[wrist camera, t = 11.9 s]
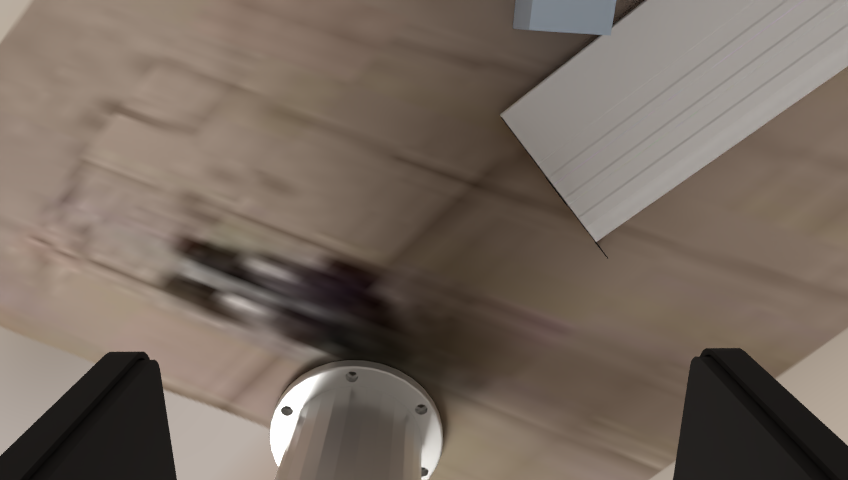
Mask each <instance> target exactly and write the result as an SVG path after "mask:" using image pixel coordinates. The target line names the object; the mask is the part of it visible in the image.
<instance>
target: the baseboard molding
mask: <svg viewBox="0 0 848 480" xmlns="http://www.w3.org/2000/svg"><path fill="white" fill-rule="evenodd" d="M847 66H848V0H644V1H643V2H642V3H641V4H639V5H638V6H637V7H636V8H634V9H633V10H632V11H631V12H629V13H628V14H627V15H625V16H624V17H623V18H622V19H620V20H619V21H618V22H617V23H615V24H614V25H613V26H612V30H611V36H610V35H600V36H599V37H598V38H596V39H595V40H594V41H592V42H591V43H590V44H589V45H587V46H586V47H585V48H584V49H582V50H581V51H580V52H579V53H577V54H576V55H575V56H573V57H572V58H571V59H570V60H568V61H567V62H566V63H565V64H563V65H562V66H561V67H559V68H558V69H557V70H556V71H554V72H553V73H552V74H551V75H549V76H548V77H547V78H546V79H544V80H543V81H542V82H540V83H539V84H538V85H537V86H535V87H534V88H533V89H532V90H530V91H529V92H528V93H526V94H525V95H524V96H523V97H521V98H520V99H519V100H518V101H516V102H515V103H514V104H513V105H511V106H510V107H509V108H507V109H506V110H505V111H504V112H502V113H501V114H500V116H501V118H502V119H503V121H504V122H505V123H506V125H507V126H508V127H509V129H510V130H511V131H512V132H513V134H514V135H515V136H516V138H517V139H518V140H519V142H520V143H521V144H522V146H523V147H524V148H525V150H526V151H527V152H528V154H529V155H530V156H531V158H532V159H533V160H534V162H535V163H536V164H537V166H538V167H539V168H540V170H541V171H542V172H543V174H544V175H545V176H546V179H547V180H548V181H550V182H549V183H550V184H551V185H552V187H553V188H554V189H555V191H556V192H557V193H558V195H559V196H560V197H561V199H562V200H563V201H564V203H565V204H566V205H568V207H569V208H570V209H571V211H572V212H573V213H574V215H575V216H576V217H577V219H578V220H579V221H580V223H581V224H582V225H583V227H584V228H585V229H586V230H587V232H588V233H589V234H590V236H591V237H592V238H593V240H594V241H595V243H596V242H597V241H598V240H600V239H601V238H603V237H604V236H605V235H607V234H608V233H610V232H611V231H613V230H614V229H615V228H617V227H618V226H620V225H621V224H623V223H624V222H626V221H627V220H628V219H630V218H631V217H633V216H634V215H636V214H637V213H638V212H640V211H641V210H643V209H644V208H646V207H647V206H648V205H650V204H651V203H653V202H654V201H656V200H657V199H658V198H660V197H661V196H663V195H664V194H666V193H667V192H668V191H670V190H671V189H673V188H674V187H676V186H677V185H678V184H680V183H681V182H683V181H684V180H686V179H687V178H688V177H690V176H691V175H693V174H694V173H696V172H697V171H698V170H700V169H701V168H703V167H704V166H706V165H707V164H708V163H710V162H711V161H713V160H714V159H716V158H717V157H718V156H720V155H721V154H723V153H724V152H726V151H727V150H728V149H730V148H731V147H733V146H734V145H736V144H737V143H738V142H740V141H741V140H743V139H744V138H746V137H747V136H748V135H750V134H751V133H753V132H754V131H756V130H757V129H758V128H760V127H761V126H763V125H764V124H766V123H767V122H768V121H770V120H771V119H773V118H774V117H776V116H777V115H778V114H780V113H781V112H783V111H784V110H786V109H787V108H788V107H790V106H791V105H793V104H794V103H796V102H797V101H798V100H800V99H801V98H803V97H804V96H806V95H807V94H808V93H810V92H811V91H813V90H814V89H816V88H817V87H818V86H820V85H821V84H823V83H824V82H826V81H827V80H828V79H830V78H831V77H833V76H834V75H836V74H837V73H838V72H840V71H841V70H843V69H844V68H846V67H847ZM596 244H597V243H596ZM597 245H598V244H597ZM598 247H599V248H600V246H599V245H598ZM600 249H601V248H600ZM601 251H602V249H601ZM602 252H603V251H602ZM603 253H604V252H603ZM604 254H605V253H604ZM605 256H606V255H605ZM606 257H607V256H606ZM607 258H608V257H607Z"/></svg>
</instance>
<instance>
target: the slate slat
mask: <svg viewBox="0 0 848 480" xmlns="http://www.w3.org/2000/svg"><path fill="white" fill-rule="evenodd" d="M615 5H616V0H516V2H515V11H514V20H513V29H522V30H535V31H550V32H565V33H580V34H595V35H610V36H611V30H612V24H613V18H614V12H615Z"/></svg>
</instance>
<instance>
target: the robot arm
mask: <svg viewBox="0 0 848 480" xmlns="http://www.w3.org/2000/svg"><path fill="white" fill-rule="evenodd" d="M351 371H352V372H351ZM269 438H270V446H271V450H272V453H273V456H274V459H275V461H276V463H277V464H278V467H279V468H278V471H277V474H276V477H275V480H428V479H429V478H430V477H431V475H432V474H433V472H434V470H435V469H436V467H437V465H438V462H439V459H440V457H441V454H442V445H443V430H442V423H441V419H440V414H439V412H438V410H437V408H436V406H435V403H434V401H433V400H432V398H431V397H430V396H429V395H428V393H427V392H426V391H425V389H424V388H423V387H422V386H420V385H419V384H418V383H417V382H416V381H415V380H414V379H412V378H411V377H409V376H407V375H406V374H404V373H402V372H401V371H399V370H397V369H394V368H392V367H389V366H386V365H384V364H380V363H375V362H370V361H362V360H345V361H338V362H331V363H328V364H325V365H322V366H319V367H316V368H314V369H312V370H310V371H308V372H306V373H305V374H303V375H301V376H300V377H299V378H298V379H296V380H295V381H294V382H293V383H291V384H290V385H289V387H288V388H287V389H286V390H285V392H284V393H283V394H282V395H281V397H280V399H279V401H278V403H277V405H276V408H275V410H274V413H273V416H272V419H271V422H270V433H269ZM0 480H177V479H176V471H175V465H174V458H173V452H172V445H171V439H170V433H169V426H168V419H167V413H166V406H165V400H164V393H163V387H162V380H161V373H160V368H159V364H158V363H157V361H156V360H150V359H149V357H148V355H147V354H146V353H145V352H109V353H107V354H106V355H105V356H103V357H102V358H101V359H100V360H99V361H98V362H97V363H96V364H95V365H94V366H93V367H92V368H91V369H90V370H89V371H88V372H87V373H86V374H85V375H84V376H83V377H82V378H81V379H80V380H79V381H78V382H77V383H76V384H75V385H73V386H72V387H71V388H70V389H69V390H68V391H67V392H66V393H65V394H64V395H63V396H62V397H61V398H60V399H59V400H58V401H57V402H56V403H55V404H54V405H53V406H52V407H51V408H50V409H49V410H47V411H46V412H45V413H44V414H43V415H42V416H41V417H40V418H39V419H38V420H37V421H36V422H35V423H34V424H33V425H32V426H31V427H30V428H29V429H28V430H27V431H26V432H25V433H24V434H23V435H22V436H20V437H19V438H18V439H17V441H16V442H14V443H13V444H12V445H11V446H10V447H9V448H8V449H7V450H6V451H5V452H4V453H3V454H2V455H1V456H0ZM673 480H848V446H847V445H846V444H845V443H844V442H843V441H842V440H841V439H840V438H839V437H838V436H836V435H835V434H834V433H833V432H832V431H831V430H830V429H829V428H828V427H827V426H825V425H824V424H823V423H822V422H821V421H820V420H819V419H818V418H817V417H816V416H815V415H814V414H812V413H811V412H810V411H809V410H808V409H807V408H806V407H805V406H804V405H802V403H800V402H799V401H798V400H797V399H796V398H795V397H794V396H793V395H792V394H790V393H789V392H788V391H787V390H786V389H785V388H784V387H783V386H782V385H781V384H780V383H779V382H778V381H776V380H775V379H774V378H773V377H772V376H771V375H770V374H769V373H768V372H767V371H766V370H764V369H763V368H762V367H761V366H760V365H759V364H758V363H757V362H756V361H755V360H753V359H752V358H751V357H750V356H749V355H748V354H747V353H746V352H745V351H743V350H742V349H740V348H706V349H705V350H703V351H702V353H701V355H700V357H694V358H693V359H692V361H691V365H690V370H689V377H688V384H687V390H686V397H685V404H684V410H683V417H682V424H681V430H680V437H679V444H678V450H677V457H676V464H675V471H674V477H673Z"/></svg>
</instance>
